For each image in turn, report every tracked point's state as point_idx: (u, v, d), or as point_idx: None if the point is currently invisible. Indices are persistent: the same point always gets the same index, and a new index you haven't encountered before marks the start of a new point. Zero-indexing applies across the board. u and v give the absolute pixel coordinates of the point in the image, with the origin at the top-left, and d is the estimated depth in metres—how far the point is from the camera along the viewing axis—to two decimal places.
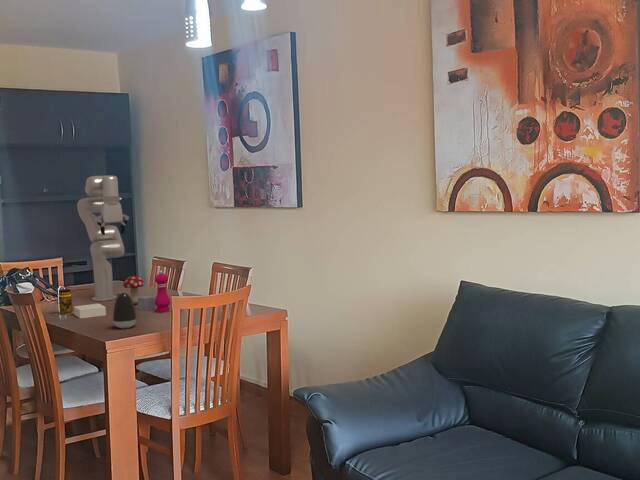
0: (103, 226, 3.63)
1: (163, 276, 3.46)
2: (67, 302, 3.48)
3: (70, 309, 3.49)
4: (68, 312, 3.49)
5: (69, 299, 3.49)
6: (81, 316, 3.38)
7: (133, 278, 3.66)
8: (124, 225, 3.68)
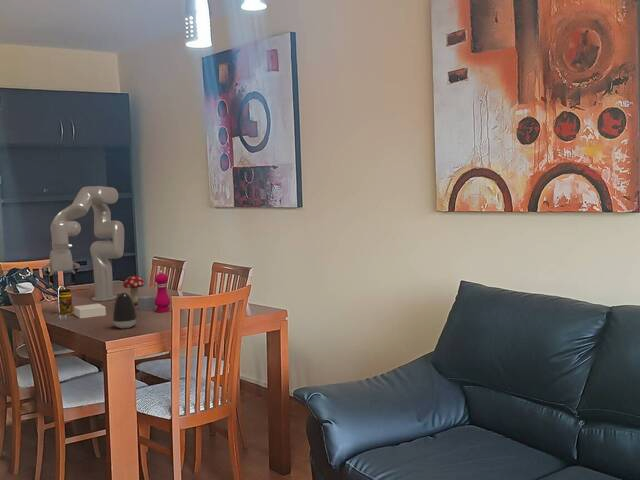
0: (51, 275, 3.46)
1: (163, 276, 3.46)
2: (67, 302, 3.48)
3: (70, 309, 3.49)
4: (68, 312, 3.49)
5: (69, 299, 3.49)
6: (81, 316, 3.38)
7: (133, 278, 3.66)
8: (74, 273, 3.51)
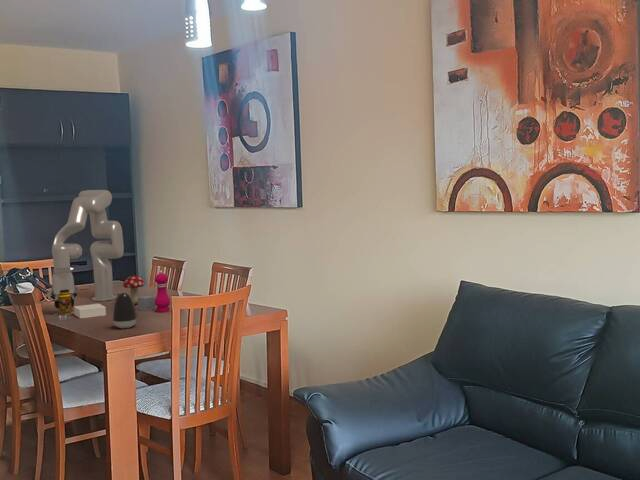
0: (57, 300, 3.48)
1: (163, 276, 3.46)
2: (66, 302, 3.48)
3: (69, 309, 3.49)
4: (67, 312, 3.48)
5: (68, 299, 3.49)
6: (81, 316, 3.38)
7: (133, 278, 3.66)
8: (73, 298, 3.52)
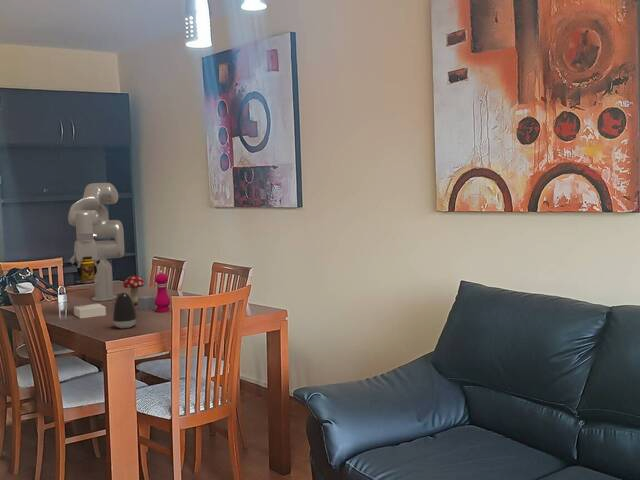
0: None
1: (163, 276, 3.46)
2: (89, 269, 3.41)
3: (92, 276, 3.42)
4: (90, 279, 3.42)
5: (91, 266, 3.42)
6: (81, 316, 3.38)
7: (133, 278, 3.66)
8: (96, 266, 3.45)
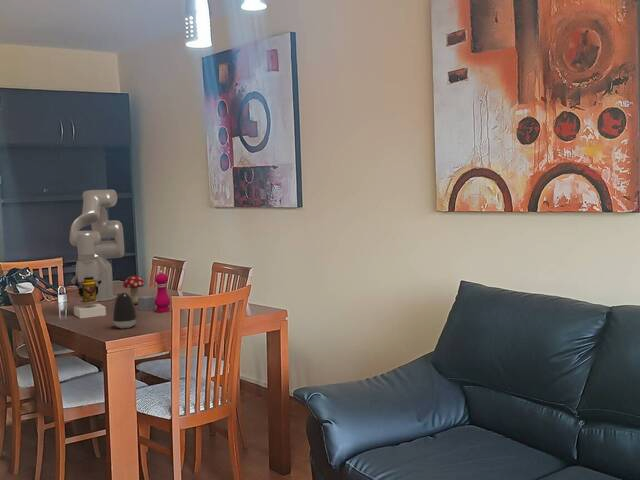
0: (81, 287, 3.42)
1: (163, 276, 3.46)
2: (91, 289, 3.42)
3: (93, 297, 3.43)
4: (91, 300, 3.42)
5: (92, 286, 3.42)
6: (81, 316, 3.38)
7: (133, 278, 3.66)
8: (98, 286, 3.46)
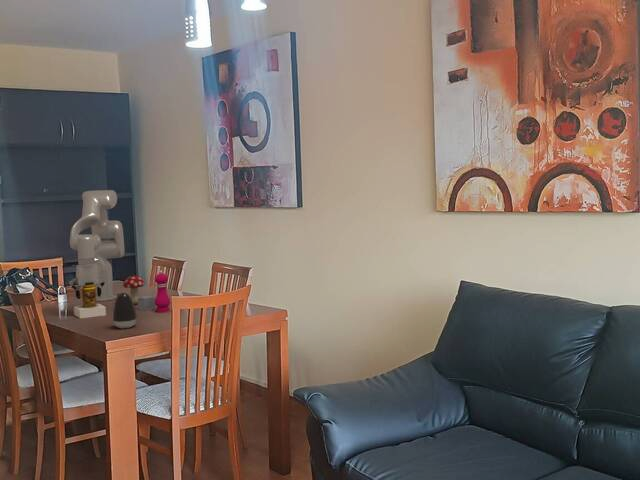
0: (78, 290, 3.41)
1: (163, 276, 3.46)
2: (91, 294, 3.42)
3: (94, 302, 3.44)
4: (92, 305, 3.43)
5: (93, 292, 3.43)
6: (81, 316, 3.38)
7: (133, 278, 3.66)
8: (101, 288, 3.46)
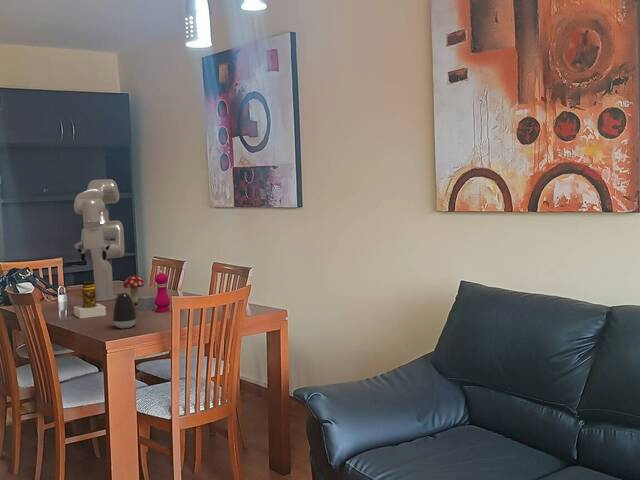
0: (83, 253, 3.45)
1: (163, 276, 3.46)
2: (91, 294, 3.42)
3: (94, 302, 3.44)
4: (92, 305, 3.43)
5: (93, 292, 3.43)
6: (81, 316, 3.38)
7: (133, 278, 3.66)
8: (106, 251, 3.50)
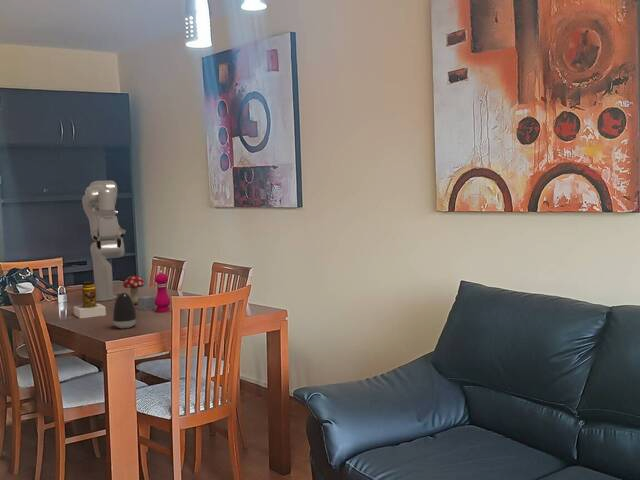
0: (99, 240, 3.56)
1: (163, 276, 3.46)
2: (91, 294, 3.42)
3: (94, 302, 3.44)
4: (92, 305, 3.43)
5: (93, 292, 3.43)
6: (81, 316, 3.38)
7: (133, 278, 3.66)
8: (120, 239, 3.61)
